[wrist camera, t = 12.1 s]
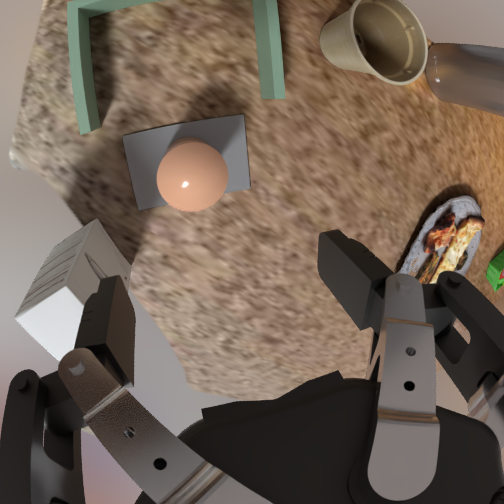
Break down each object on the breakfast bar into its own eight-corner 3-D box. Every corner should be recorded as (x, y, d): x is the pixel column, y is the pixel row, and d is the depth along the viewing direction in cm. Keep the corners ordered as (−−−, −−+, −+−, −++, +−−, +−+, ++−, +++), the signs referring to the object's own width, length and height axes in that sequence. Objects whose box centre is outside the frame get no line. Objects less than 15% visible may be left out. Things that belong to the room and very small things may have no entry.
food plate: (438, 171, 37) (454, 179, 34) (487, 211, 46) (498, 219, 43) (368, 303, 47) (379, 316, 45) (432, 306, 57) (441, 316, 54)
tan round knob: (214, 129, 27) (224, 137, 22) (220, 184, 30) (231, 204, 25) (155, 139, 26) (150, 150, 21) (165, 194, 29) (164, 217, 24)
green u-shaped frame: (260, -14, 20) (273, -27, 16) (270, 97, 27) (285, 98, 23) (79, 13, 16) (67, 2, 13) (91, 129, 23) (80, 134, 20)
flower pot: (334, -7, 21) (381, -25, 14) (387, 48, 26) (439, 47, 19) (288, 42, 24) (330, 28, 17) (349, 98, 28) (400, 105, 21)
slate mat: (243, 114, 27) (243, 114, 27) (249, 188, 31) (250, 188, 31) (122, 136, 25) (122, 136, 24) (138, 210, 29) (138, 210, 29)
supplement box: (133, 266, 32) (126, 348, 21) (87, 291, 32) (68, 372, 21) (98, 214, 28) (66, 284, 17) (51, 246, 28) (11, 320, 17)
